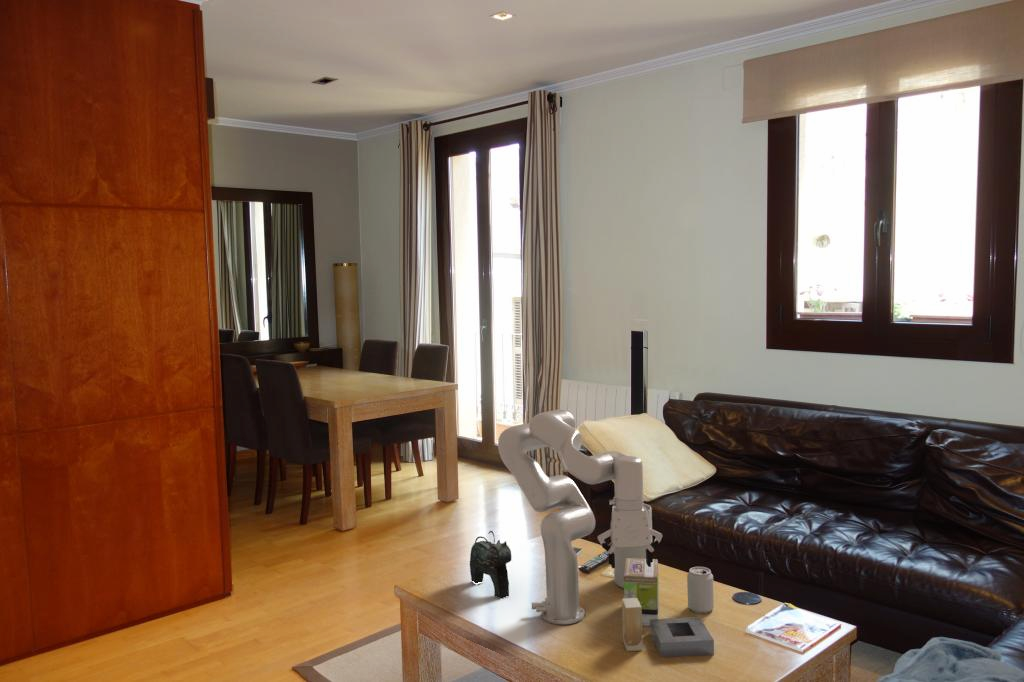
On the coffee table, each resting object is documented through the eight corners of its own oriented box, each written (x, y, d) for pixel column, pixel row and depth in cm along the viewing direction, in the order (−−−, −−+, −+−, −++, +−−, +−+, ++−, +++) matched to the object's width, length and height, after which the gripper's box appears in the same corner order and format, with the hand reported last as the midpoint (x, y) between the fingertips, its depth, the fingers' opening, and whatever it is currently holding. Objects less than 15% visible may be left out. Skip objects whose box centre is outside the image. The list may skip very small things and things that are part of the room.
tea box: (659, 627, 222) (658, 576, 221) (623, 625, 224) (622, 575, 223) (659, 605, 237) (657, 557, 236) (625, 603, 239) (624, 556, 238)
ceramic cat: (515, 597, 247) (512, 535, 246) (497, 602, 244) (495, 539, 242) (481, 578, 264) (479, 520, 262) (465, 583, 260) (462, 524, 258)
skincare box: (622, 641, 215) (621, 597, 214) (638, 640, 215) (637, 596, 214) (626, 652, 208) (625, 607, 207) (643, 651, 209) (641, 606, 208)
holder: (660, 657, 205) (660, 642, 204) (650, 633, 219) (649, 619, 218) (714, 654, 205) (713, 640, 205) (699, 630, 219) (699, 616, 219)
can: (714, 615, 229) (713, 575, 228) (688, 613, 230) (687, 574, 229) (713, 604, 236) (712, 565, 235) (687, 603, 237) (686, 564, 237)
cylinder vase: (659, 579, 256) (657, 505, 254) (644, 593, 246) (642, 515, 244) (624, 573, 263) (622, 500, 261) (608, 586, 253) (605, 510, 251)
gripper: (598, 508, 205) (600, 572, 206) (664, 506, 205) (665, 569, 206) (594, 500, 212) (596, 562, 214) (658, 498, 213) (659, 559, 214)
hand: (630, 565), depth 210 cm, fingers open, 9 cm apart
